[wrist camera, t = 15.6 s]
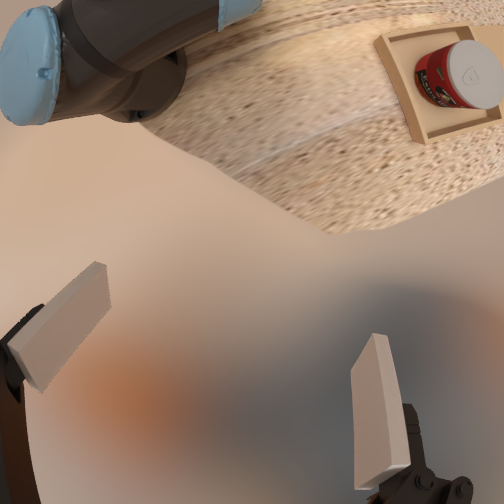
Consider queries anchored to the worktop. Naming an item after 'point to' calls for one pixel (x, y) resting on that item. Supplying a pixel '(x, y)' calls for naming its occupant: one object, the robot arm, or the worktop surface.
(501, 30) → the mailer box
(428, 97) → the canned food
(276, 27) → the worktop surface
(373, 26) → the worktop surface
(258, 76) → the worktop surface
